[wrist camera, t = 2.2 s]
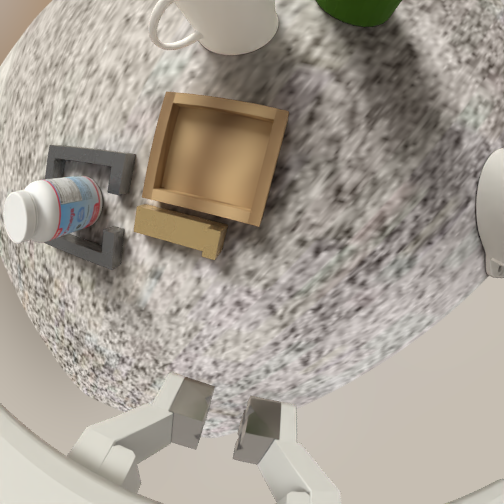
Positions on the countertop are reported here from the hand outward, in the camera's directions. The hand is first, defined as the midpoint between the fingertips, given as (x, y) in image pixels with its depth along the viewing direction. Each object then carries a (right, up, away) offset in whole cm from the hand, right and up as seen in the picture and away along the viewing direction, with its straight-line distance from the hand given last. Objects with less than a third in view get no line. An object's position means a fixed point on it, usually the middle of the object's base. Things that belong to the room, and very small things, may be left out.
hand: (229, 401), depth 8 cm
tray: (-2, +14, +16) cm, 22 cm away
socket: (-19, +11, +19) cm, 29 cm away
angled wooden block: (-6, +7, +19) cm, 21 cm away
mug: (-2, +27, +13) cm, 30 cm away
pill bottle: (-19, +11, +19) cm, 29 cm away
